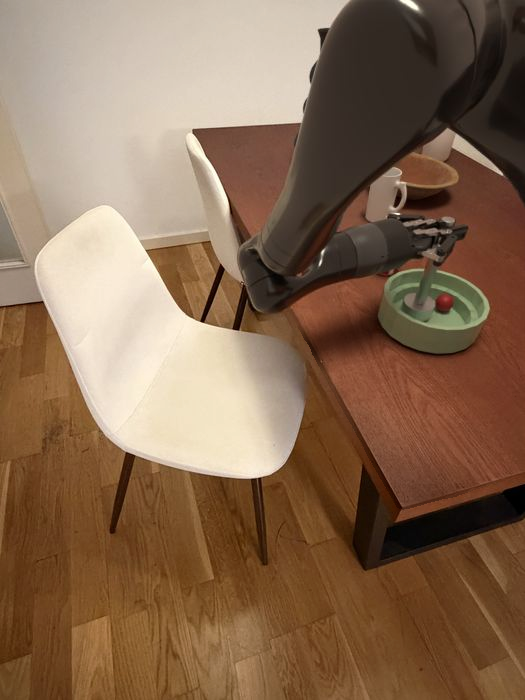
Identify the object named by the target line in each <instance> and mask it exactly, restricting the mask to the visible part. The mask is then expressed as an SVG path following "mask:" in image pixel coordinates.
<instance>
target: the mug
mask: <svg viewBox="0 0 525 700" xmlns="http://www.w3.org/2000/svg"><path fill="white" fill-rule="evenodd" d="M401 174H402V171H401V170H400V169H398V168H395V167H393V168H391V169H390V170H389V171H388V172H386V173H385V174H384V175H382V176H381V177H380V178H379V179H377V180H376V181H375V182H374V183H372V184H371V185H370V186H369V192H368V197H367V204H366V209H365V216H364V218H365V220H366V221H368V222H369V223H371V222H375V221H380V220H384V219H385V217H386V215H387V214H390V213H399V214H400V212H401V210H402V209H403V208H404V206H405V204H406V201H407V199H406V197H407V190H406V182H400V179H401ZM398 188H399V189H400V190H401V192H402V198H401V199H400V202H399V204H398V206H397V207H395V206H394V205H395V202H396V197H397V195H396V194H397V190H398Z"/></svg>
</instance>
